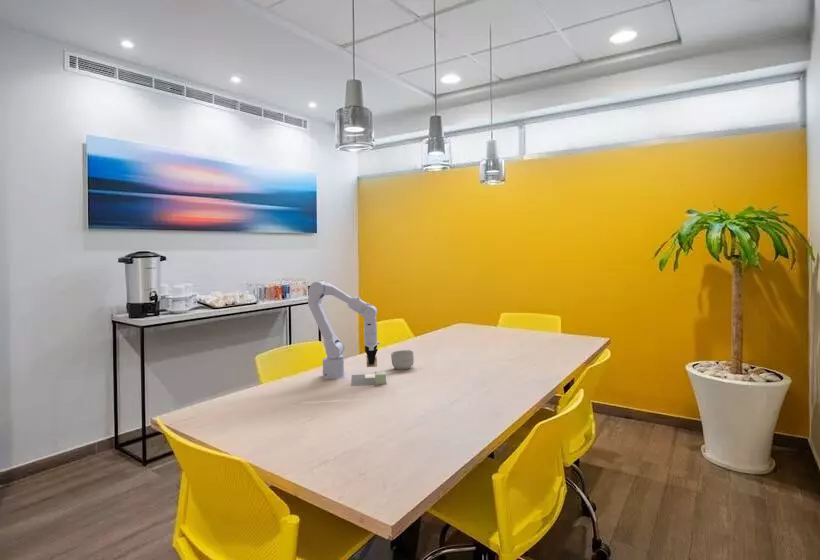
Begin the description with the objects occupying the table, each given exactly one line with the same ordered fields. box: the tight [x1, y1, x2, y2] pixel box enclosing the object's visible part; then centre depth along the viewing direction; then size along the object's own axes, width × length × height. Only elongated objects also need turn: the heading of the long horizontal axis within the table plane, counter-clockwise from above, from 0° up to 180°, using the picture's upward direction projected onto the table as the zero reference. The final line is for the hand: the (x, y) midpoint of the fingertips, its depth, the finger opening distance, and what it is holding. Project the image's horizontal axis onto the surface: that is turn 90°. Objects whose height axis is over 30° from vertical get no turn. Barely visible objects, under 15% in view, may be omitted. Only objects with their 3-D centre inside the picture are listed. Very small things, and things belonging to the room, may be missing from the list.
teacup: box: [390, 349, 415, 371], centre depth 227 cm, size 14×11×8 cm
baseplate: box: [350, 373, 388, 387], centre depth 207 cm, size 15×17×1 cm
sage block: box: [374, 371, 387, 385], centre depth 202 cm, size 4×4×4 cm
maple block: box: [366, 355, 378, 368], centre depth 211 cm, size 4×4×4 cm
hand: (371, 363), depth 211 cm, fingers closed on maple block, 4 cm apart
